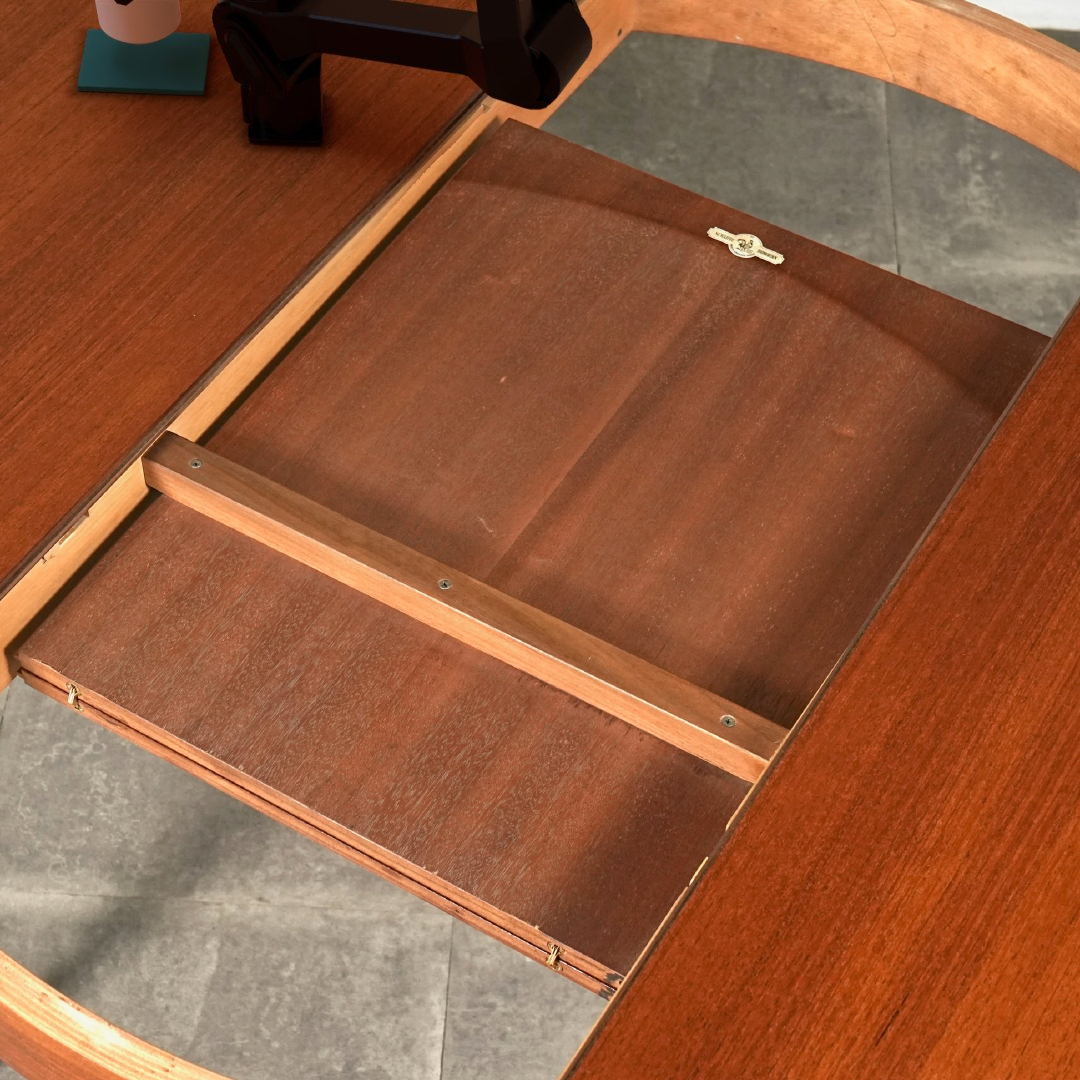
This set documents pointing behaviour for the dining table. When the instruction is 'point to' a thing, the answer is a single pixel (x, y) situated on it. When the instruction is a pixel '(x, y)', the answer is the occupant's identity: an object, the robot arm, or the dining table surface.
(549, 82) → the robot arm
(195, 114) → the dining table surface
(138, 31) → the can
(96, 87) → the teal mat
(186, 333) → the dining table surface
